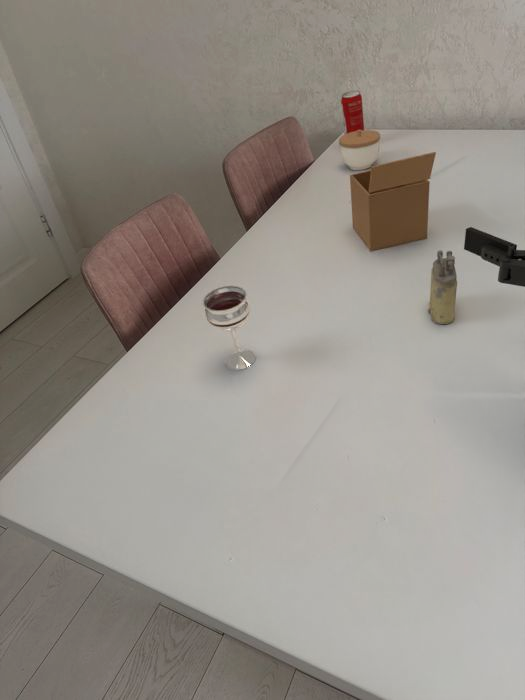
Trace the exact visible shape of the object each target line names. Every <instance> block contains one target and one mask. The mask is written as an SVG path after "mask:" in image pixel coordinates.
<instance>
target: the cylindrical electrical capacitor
mask: <svg viewBox="0 0 525 700" xmlns="http://www.w3.org/2000/svg"><path fill="white" fill-rule="evenodd" d="M443 255H444V251H443V250H441V249H440V250H437V254H436V257H437V259H435V260H434V261H433V262H432V268H431V276H430V291H429V293H430V294H429V295H430V296H429V302H428V305H429V308H428V309H427V312H428V314H430V320H431V321H432V322H434V323H435V324H438V325H447V324H450V323H452V322H453V321H454V320H455V309H456V301H457V300H456V298H457V290H458V289H457V288H458V279H457V271H456V266H455V261H456V258H455V256H454V255H453V251H451V250H447V251H446V255H445V256H446V257H443Z"/></svg>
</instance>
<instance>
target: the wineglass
mask: <svg viewBox="0 0 525 700" xmlns="http://www.w3.org/2000/svg"><path fill="white" fill-rule="evenodd" d="M247 295H248V293H247V290H245V289H244V288H243V287H241V286H239V285H224V286H219V287H217V288H214V289H212V290H211V291H209V292H207V293H206V295H205V296H204V297H203V298H202V306H203V308H205V309H204V314H205V318H206V320H207V322H208V323H209V324H210V325H211V326H212V328H215V329H217V330H221V331H225V332H230V334H231V337H232V340H233V343H234V347H235V351H232V352H231V353H230V354H229V355H227V356H226V358H225V362H224V363H225V366H226V365H227V366H226V367H227V368H228V367H229V369H230V370H234V371H240V370H245V369H247V368H249V367H251V366H252V365H254V362H255V361H256V354H255V352H253V351H252V350H249V349H240V346H239V341H238V337H237V336H238V335H237V331H236V330H237V329H239V328H241V327H242V326H243V325H244V324H245V323H246V322H247V320H248V319H249V316H250V312H251V306H250V305H251V304H250V302H249V300H248V298H247ZM250 365H251V366H250ZM248 366H249V367H248Z"/></svg>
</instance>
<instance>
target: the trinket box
mask: <svg viewBox="0 0 525 700" xmlns="http://www.w3.org/2000/svg"><path fill="white" fill-rule="evenodd" d="M338 144H339V152H340V156H341V159H342V161H343V162H344V164H345V165H346V166H348V168H349V170H353V171H363V170H367V169H369V168H371V166H373V164H374V163H375V162H376V161H377V158H378V156H379V153H380V148H381V133H380V132H378V131H376V130H370V129H364V130H357V131H354V132H350V133H347V134H345V135H344V134H343V135H341V136H340V137H339V139H338Z"/></svg>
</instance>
